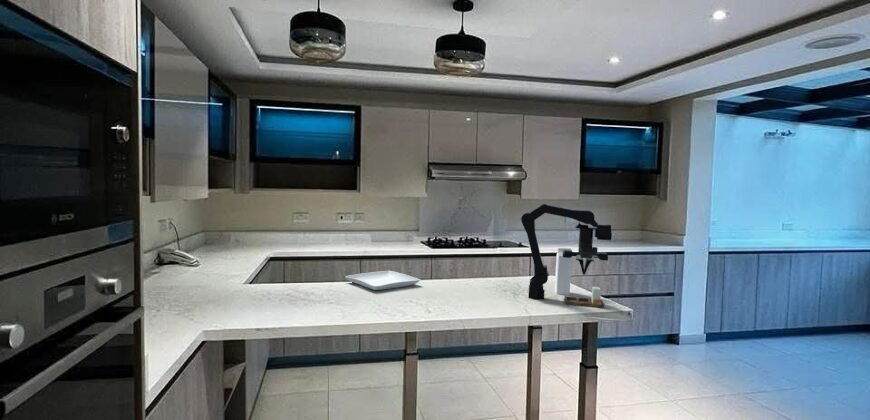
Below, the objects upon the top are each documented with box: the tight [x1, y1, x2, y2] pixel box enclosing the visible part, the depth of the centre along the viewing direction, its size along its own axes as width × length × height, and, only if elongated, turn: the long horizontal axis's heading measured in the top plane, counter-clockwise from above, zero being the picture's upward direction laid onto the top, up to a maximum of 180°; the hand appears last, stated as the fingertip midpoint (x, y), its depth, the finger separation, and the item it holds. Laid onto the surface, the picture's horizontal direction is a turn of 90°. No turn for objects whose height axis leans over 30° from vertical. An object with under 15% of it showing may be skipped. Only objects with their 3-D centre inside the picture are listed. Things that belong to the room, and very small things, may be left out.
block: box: [590, 286, 602, 304], centre depth 207 cm, size 3×6×7 cm, turn 167°
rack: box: [563, 295, 606, 309], centre depth 208 cm, size 16×11×4 cm, turn 77°
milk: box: [554, 247, 573, 296], centre depth 226 cm, size 6×6×22 cm
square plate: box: [345, 270, 421, 291], centre depth 234 cm, size 27×27×4 cm
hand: (583, 274), depth 209 cm, fingers closed
